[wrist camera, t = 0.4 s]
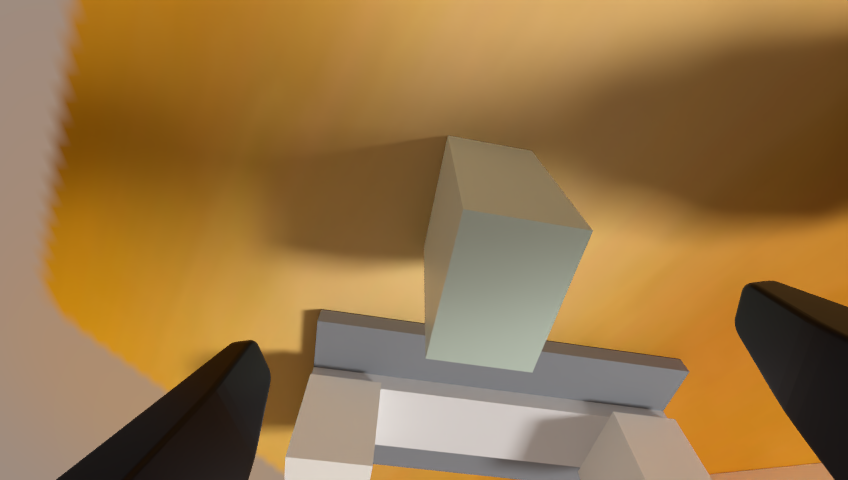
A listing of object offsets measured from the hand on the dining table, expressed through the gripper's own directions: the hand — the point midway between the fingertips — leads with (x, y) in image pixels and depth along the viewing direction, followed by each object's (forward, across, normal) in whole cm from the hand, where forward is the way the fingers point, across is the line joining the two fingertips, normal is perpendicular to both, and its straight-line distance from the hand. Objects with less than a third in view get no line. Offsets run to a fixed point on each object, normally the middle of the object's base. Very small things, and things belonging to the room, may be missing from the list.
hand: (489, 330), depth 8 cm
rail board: (+13, 0, +18) cm, 22 cm away
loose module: (+13, -1, +3) cm, 14 cm away
